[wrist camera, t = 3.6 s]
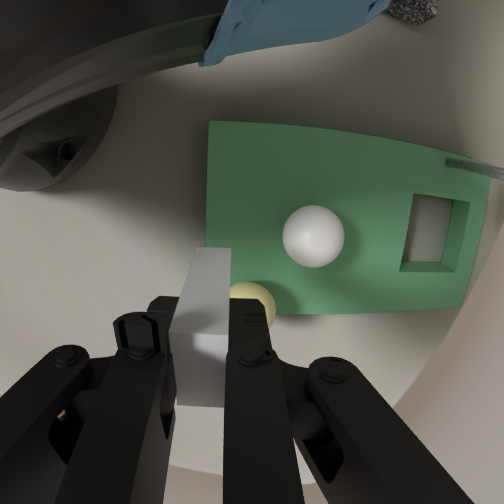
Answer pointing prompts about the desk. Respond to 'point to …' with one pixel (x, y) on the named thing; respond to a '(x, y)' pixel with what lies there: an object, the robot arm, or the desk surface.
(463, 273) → the green board with hole
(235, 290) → the ball
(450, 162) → the pin
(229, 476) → the robot arm
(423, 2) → the rock
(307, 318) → the desk surface
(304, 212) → the ball
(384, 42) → the desk surface
